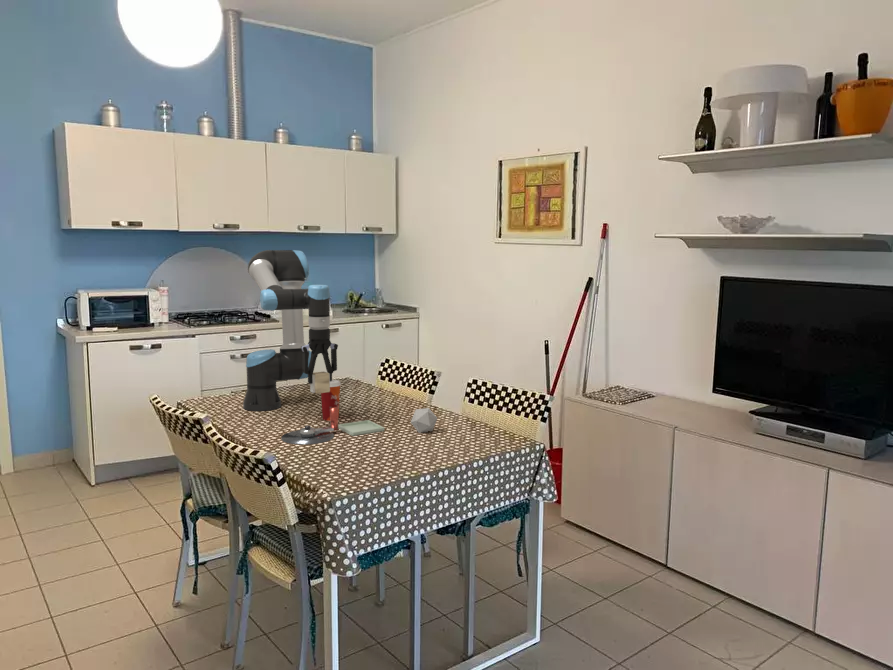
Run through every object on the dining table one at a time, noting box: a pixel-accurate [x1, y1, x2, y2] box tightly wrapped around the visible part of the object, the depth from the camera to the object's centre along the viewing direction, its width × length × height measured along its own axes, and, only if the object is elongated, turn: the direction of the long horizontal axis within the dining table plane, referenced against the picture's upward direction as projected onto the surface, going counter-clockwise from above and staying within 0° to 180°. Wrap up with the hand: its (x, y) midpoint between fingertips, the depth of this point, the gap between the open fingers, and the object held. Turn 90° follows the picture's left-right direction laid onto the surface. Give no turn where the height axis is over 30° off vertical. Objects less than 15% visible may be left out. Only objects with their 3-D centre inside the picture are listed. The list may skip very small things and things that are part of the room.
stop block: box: [313, 371, 330, 395], centre depth 245 cm, size 5×5×7 cm
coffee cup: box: [320, 378, 342, 422], centre depth 259 cm, size 8×8×15 cm
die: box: [410, 407, 438, 434], centre depth 244 cm, size 8×9×10 cm
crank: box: [299, 407, 339, 437], centre depth 237 cm, size 14×5×9 cm, turn 123°
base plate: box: [280, 425, 335, 446], centre depth 235 cm, size 18×18×4 cm
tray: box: [338, 419, 385, 437], centre depth 245 cm, size 13×13×2 cm
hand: (320, 391), depth 245 cm, fingers closed on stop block, 5 cm apart
